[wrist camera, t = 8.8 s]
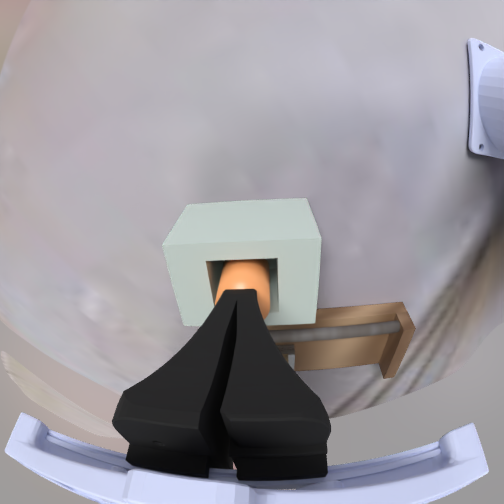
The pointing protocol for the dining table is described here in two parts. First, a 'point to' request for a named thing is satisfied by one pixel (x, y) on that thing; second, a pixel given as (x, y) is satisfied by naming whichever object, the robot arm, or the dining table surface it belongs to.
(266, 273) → the orange rounded peg
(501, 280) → the dining table surface
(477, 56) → the robot arm
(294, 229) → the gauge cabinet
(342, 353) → the rail deck
